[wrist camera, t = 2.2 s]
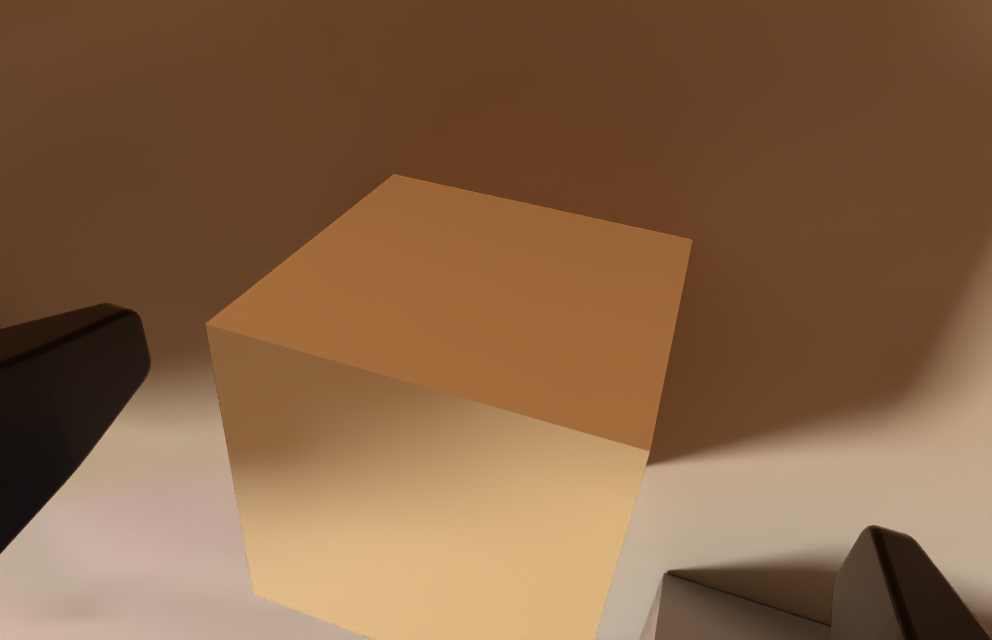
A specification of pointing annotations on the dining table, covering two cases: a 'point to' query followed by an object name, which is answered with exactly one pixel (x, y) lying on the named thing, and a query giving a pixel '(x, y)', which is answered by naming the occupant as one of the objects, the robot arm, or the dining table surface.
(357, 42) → the dining table surface
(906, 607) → the robot arm
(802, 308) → the dining table surface
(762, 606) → the dish
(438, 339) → the block
